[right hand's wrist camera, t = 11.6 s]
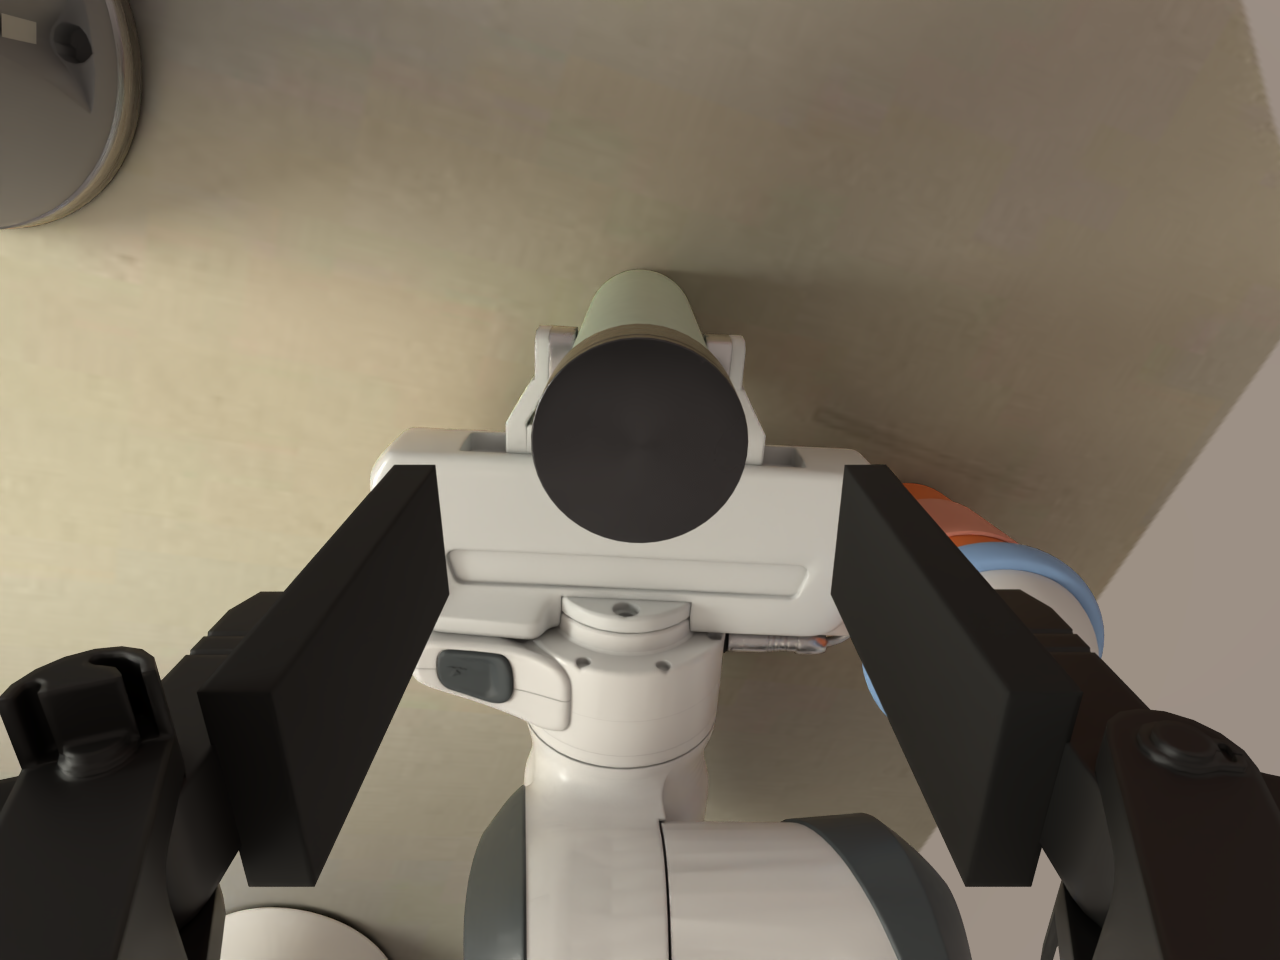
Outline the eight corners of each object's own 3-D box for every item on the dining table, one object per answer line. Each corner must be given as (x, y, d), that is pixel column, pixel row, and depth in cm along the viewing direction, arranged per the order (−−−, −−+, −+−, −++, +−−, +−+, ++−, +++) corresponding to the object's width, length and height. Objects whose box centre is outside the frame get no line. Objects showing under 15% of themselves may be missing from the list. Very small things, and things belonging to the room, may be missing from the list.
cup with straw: (1024, 521, 38) (1325, 786, 21) (898, 641, 41) (1078, 960, 24) (897, 417, 36) (1119, 622, 19) (773, 551, 39) (874, 832, 22)
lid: (595, 285, 19) (591, 296, 17) (776, 382, 20) (790, 402, 18) (508, 461, 21) (495, 487, 19) (678, 543, 22) (681, 576, 20)
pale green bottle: (617, 249, 33) (596, 308, 18) (712, 301, 34) (772, 401, 19) (569, 345, 35) (512, 477, 19) (661, 393, 36) (677, 556, 20)
